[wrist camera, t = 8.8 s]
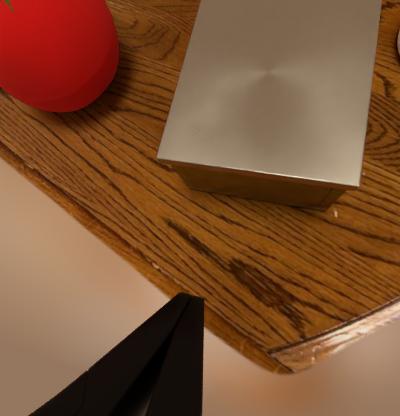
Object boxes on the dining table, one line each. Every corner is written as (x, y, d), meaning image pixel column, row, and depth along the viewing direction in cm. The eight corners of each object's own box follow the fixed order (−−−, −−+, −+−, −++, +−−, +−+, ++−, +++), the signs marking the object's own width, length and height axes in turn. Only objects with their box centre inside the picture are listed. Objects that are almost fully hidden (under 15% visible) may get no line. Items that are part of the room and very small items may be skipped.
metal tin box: (325, 212, 22) (355, 181, 15) (189, 189, 25) (162, 155, 18) (344, 78, 24) (378, -3, 17) (219, 72, 27) (205, 2, 20)
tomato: (91, 150, 28) (-19, 67, 17) (14, 101, 32) (-113, 9, 21) (160, 55, 29) (100, -79, 18) (77, 20, 34) (-12, -106, 23)
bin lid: (354, 191, 15) (359, 186, 14) (159, 163, 18) (155, 158, 17) (378, -3, 17) (384, -16, 16) (205, 1, 20) (203, -9, 19)
